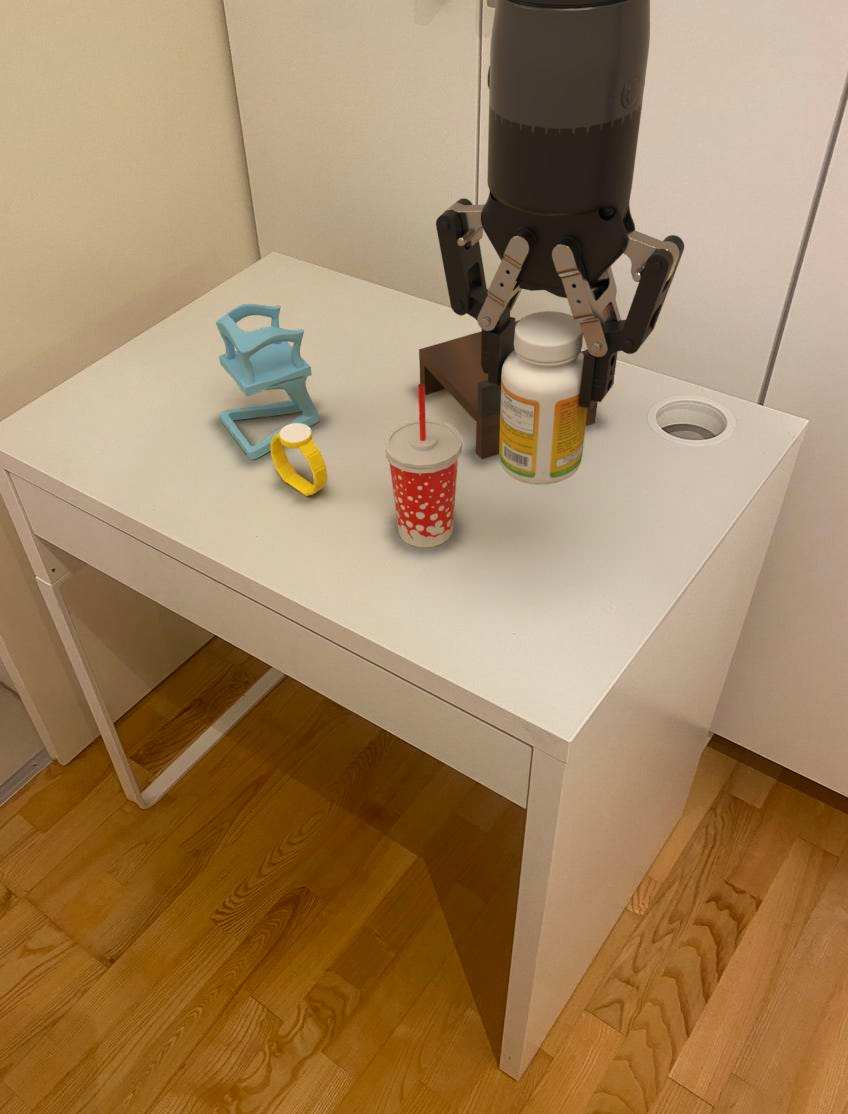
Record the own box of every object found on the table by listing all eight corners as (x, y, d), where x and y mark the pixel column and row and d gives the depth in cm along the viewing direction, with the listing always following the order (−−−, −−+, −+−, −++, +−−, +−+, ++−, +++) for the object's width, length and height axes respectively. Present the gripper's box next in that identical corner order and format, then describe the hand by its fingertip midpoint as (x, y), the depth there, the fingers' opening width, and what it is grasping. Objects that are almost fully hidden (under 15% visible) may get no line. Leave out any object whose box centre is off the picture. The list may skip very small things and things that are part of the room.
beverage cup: (457, 556, 81) (458, 410, 71) (384, 551, 82) (374, 406, 72) (465, 508, 85) (466, 364, 75) (395, 504, 86) (387, 361, 76)
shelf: (526, 357, 101) (530, 288, 95) (595, 422, 92) (604, 350, 87) (419, 389, 98) (417, 320, 93) (481, 459, 90) (483, 387, 84)
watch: (268, 480, 90) (258, 425, 85) (291, 466, 91) (282, 411, 86) (313, 508, 86) (305, 452, 82) (336, 493, 88) (329, 437, 83)
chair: (330, 433, 94) (318, 316, 85) (250, 461, 92) (229, 344, 83) (297, 394, 99) (282, 281, 90) (220, 420, 97) (197, 306, 88)
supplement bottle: (579, 437, 67) (593, 303, 60) (583, 487, 63) (599, 350, 56) (498, 438, 67) (502, 305, 60) (498, 487, 63) (503, 351, 56)
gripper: (734, 84, 48) (678, 387, 60) (470, 54, 54) (468, 336, 66) (682, 139, 44) (633, 453, 56) (401, 100, 50) (413, 393, 62)
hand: (544, 388), depth 61 cm, fingers closed on supplement bottle, 5 cm apart
